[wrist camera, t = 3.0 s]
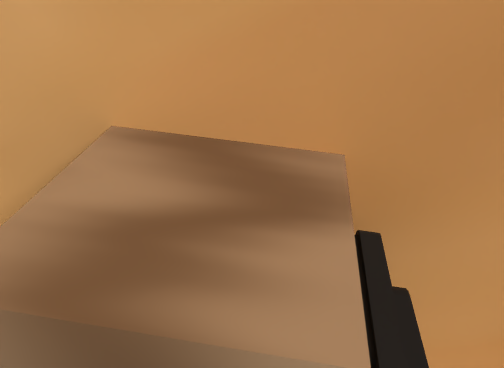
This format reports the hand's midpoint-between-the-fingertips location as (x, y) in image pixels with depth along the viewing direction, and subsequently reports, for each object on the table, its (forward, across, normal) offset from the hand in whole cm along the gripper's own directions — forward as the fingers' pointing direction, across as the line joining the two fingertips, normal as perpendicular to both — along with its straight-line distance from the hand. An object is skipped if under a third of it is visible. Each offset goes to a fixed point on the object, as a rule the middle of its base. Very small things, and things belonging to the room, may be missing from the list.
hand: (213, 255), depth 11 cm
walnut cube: (+1, 0, 0) cm, 1 cm away
